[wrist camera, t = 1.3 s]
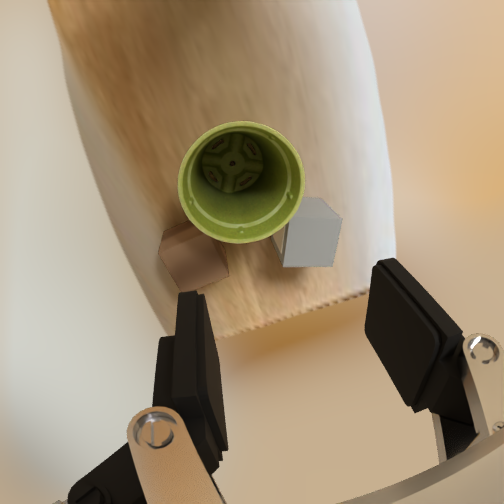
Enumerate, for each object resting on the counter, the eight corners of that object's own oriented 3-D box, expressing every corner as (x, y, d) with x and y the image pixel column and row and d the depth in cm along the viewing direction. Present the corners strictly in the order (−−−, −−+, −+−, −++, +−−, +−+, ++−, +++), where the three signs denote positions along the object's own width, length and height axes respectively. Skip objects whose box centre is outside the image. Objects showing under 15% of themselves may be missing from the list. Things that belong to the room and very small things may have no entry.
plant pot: (242, 95, 28) (255, 95, 20) (297, 169, 32) (327, 195, 24) (165, 156, 29) (151, 178, 22) (225, 224, 34) (231, 265, 26)
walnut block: (163, 231, 33) (158, 253, 29) (207, 212, 33) (207, 232, 29) (184, 268, 36) (182, 294, 31) (225, 252, 35) (229, 276, 31)
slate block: (274, 195, 33) (288, 216, 28) (321, 197, 34) (342, 218, 29) (269, 239, 35) (281, 267, 30) (314, 240, 36) (332, 266, 31)
